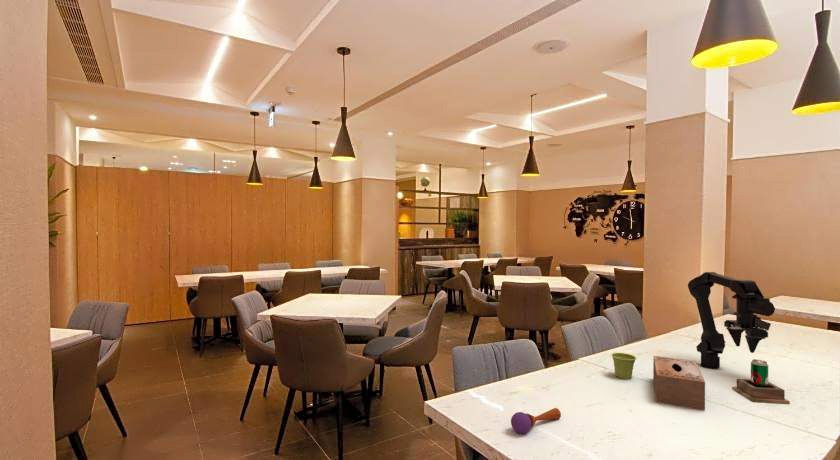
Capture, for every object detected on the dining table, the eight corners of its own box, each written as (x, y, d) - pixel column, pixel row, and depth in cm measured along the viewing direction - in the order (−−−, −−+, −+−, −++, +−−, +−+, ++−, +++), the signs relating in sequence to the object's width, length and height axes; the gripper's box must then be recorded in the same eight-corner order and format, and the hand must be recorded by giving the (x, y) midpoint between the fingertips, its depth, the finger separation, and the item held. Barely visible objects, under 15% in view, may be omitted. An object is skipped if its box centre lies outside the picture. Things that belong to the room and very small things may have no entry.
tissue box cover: (704, 411, 142) (705, 382, 142) (656, 403, 148) (656, 375, 148) (695, 386, 165) (695, 360, 164) (653, 379, 171) (653, 355, 171)
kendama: (566, 409, 133) (523, 420, 122) (562, 427, 134) (519, 439, 122) (551, 400, 138) (509, 409, 127) (547, 416, 138) (505, 427, 127)
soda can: (769, 397, 151) (769, 364, 151) (751, 394, 153) (751, 361, 153) (767, 392, 155) (767, 360, 155) (749, 389, 158) (749, 358, 158)
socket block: (732, 389, 161) (732, 377, 161) (766, 391, 159) (766, 379, 159) (752, 401, 149) (752, 389, 149) (789, 404, 147) (789, 391, 147)
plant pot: (635, 374, 176) (635, 354, 176) (636, 382, 168) (636, 360, 168) (611, 371, 180) (611, 351, 180) (611, 378, 172) (611, 357, 172)
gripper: (783, 316, 159) (783, 357, 159) (752, 307, 177) (751, 344, 177) (751, 315, 161) (751, 355, 161) (723, 306, 179) (723, 342, 179)
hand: (744, 349), depth 169 cm, fingers open, 9 cm apart
